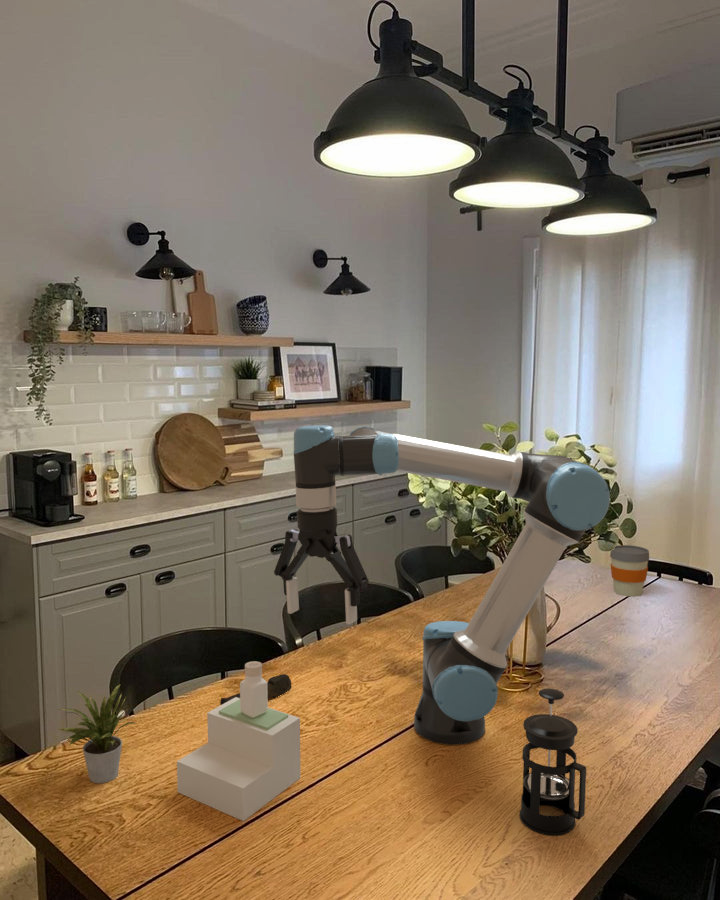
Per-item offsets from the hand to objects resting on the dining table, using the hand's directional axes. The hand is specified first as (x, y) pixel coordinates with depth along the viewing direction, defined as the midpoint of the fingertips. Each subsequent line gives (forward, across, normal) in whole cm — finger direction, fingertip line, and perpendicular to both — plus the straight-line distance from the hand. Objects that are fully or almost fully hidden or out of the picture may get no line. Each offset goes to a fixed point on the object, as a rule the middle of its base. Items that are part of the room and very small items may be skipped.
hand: (321, 616), depth 144 cm
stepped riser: (+29, +10, +15) cm, 34 cm away
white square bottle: (+17, +9, +11) cm, 22 cm away
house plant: (+28, +35, +26) cm, 52 cm away
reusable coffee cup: (+34, -25, -144) cm, 150 cm away
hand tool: (+30, +29, -14) cm, 44 cm away
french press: (+31, -43, -5) cm, 53 cm away
